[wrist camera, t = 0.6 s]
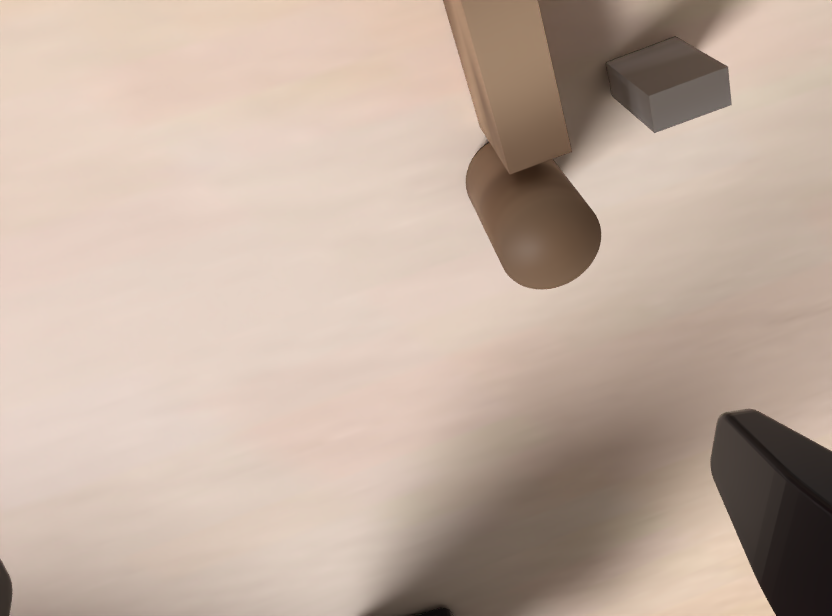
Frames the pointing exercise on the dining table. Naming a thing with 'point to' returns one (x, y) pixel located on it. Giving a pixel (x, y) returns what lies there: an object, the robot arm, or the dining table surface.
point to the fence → (555, 131)
